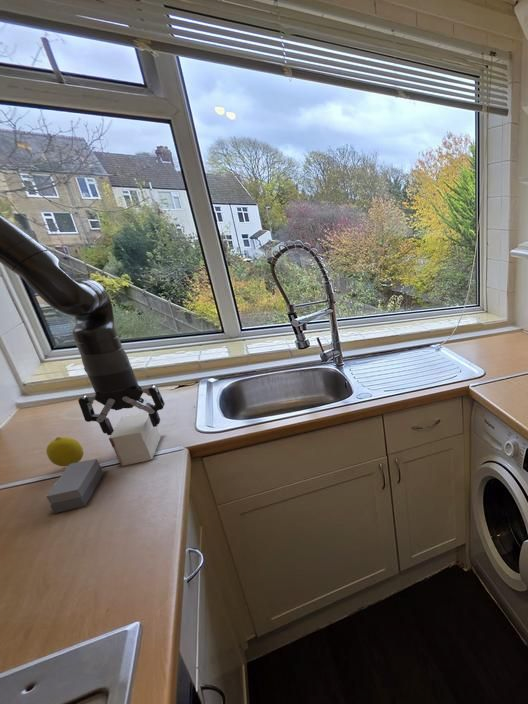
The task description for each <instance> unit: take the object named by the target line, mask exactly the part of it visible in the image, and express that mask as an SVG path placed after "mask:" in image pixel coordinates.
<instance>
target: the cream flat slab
mask: <svg viewBox="0 0 528 704" xmlns="http://www.w3.org/2000/svg"><path fill="white" fill-rule="evenodd" d="M148 414H149V413H148V412H146V411H145V412H141V413H134V414H128V415H124V416H121V418H120V420H119V421H118V423H117V424H116V426H115V427H114V428H113V430H114V431H113V432H112V434H111V435H109V437H108V440H109V442H110V444H111V447H112V448H113V449H114V447H119V446H124V445H129V444H135V443H140V442H144V440H145V438H146V436H147V434H148V432H149V430H150V427H151V425H152V423H151V420H150V417H149V415H148Z"/></svg>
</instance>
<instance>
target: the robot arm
mask: <svg viewBox="0 0 528 704" xmlns="http://www.w3.org/2000/svg"><path fill="white" fill-rule="evenodd" d="M0 264H2V265H3V266H5V267H6V268H7V269H8V270H10V271H11V272H13V273H14V274H16V275H17V276H19V277H21V278H22V279H23V281H25V283H26V284H27V285H28V287H30V288H31V289H32V291H34V292H35V293H36V294H37V295H38V296H39V297H40V298H41V299H42V301H44V302H45V303H46V304H47V305H49V306H50V307H51V308H52V309H55V310H56V311H57V312H60V313H61V314H63V315H64V314H65V315H67V316H70V317H74V319H75V326H74V327H73V329H72V330H71V333H72V338H73V340H74V343H75V346H76V347H77V350H78V353H79V355H80V358H81V363H82V366H83V369H84V371H85V372H86V375H87V377H88V379H89V382H90V384H91V386H92V389H93V391H94V393H95V394H91V395H88V394H83V395H81V396H80V397H79V399H78V400H77V402H78V404H79V407H80V410H81V413H82V415H83V419H84V421H85V422H88V423H90V422H97V423H98V424H99V427H100V429H101V431H102V433H103V434H104V435H105V434H106V435H107V436H111V434H112V432H113V431H114V428H113V424H112V422H111V421H110V418H109V417H107V416H108V415H109V413H110V412H111V410H115V411H121V410H123V409H133V407H135V408H137V409H139V410H142V411H145V413H146V412H148V413H149V414H148V415H149V417H150V420H151V423H152V425H153V427H156V426H157V427H158V425H159V424H160V422H161V418H160V414H159V412H158V411H161V410H163V409H164V406H165V405H166V404H165V401H164V399H163V396H162V394H161V392H160V390H159V387H158V385H156V384H151V385H150V386H146V387H141V386H140V385H139V383H138V380H137V378H136V375H135V372H134V370H133V367H132V364H131V362H130V359H129V357H128V354H127V353H126V351H125V349H124V347H123V345H122V342H121V340H120V337H119V335H118V332H117V330H116V327H115V316H114V315H115V314H114V309H113V303H112V299H111V297H110V294H109V293H108V291H107V289H106V288H105V287H104V286H103V285H102V284H101V283H100V282H97V281H95V280H93V279H90V278H83V277H80V278H75V279H73V278H71V276H69V275H68V274H67V273H66V272H65V271H64V270H63V269H62V268H61V265H62V263H61V260H60V259H59V258H58V257H57V256H56V255H55V254H54V253H53V252H52V251H50V250H49V249H48V248H46V247H45V246H43V245H42V244H41V243H39V242H38V241H37V240H35V239H34V238H33V237H32V236H30V235H29V234H27V232H25V231H23V230H22V229H21V228H19V227H18V226H16V225H15V224H14V223H13V222H11V221H9V219H7V218H6V217H4V216H2V215H1V214H0ZM143 394H146V395H147V396H148V397H151V399H152V401H153V403H151V402H150V401H149V400H148V399H146V398H144V397H142V396H143ZM95 401H96V402H97V403H99V404H101V405H102V406H103V407H102V409H101V411H100V413H95V410H94V407H93V404H94V403H95Z"/></svg>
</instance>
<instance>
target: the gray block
mask: <svg viewBox="0 0 528 704" xmlns="http://www.w3.org/2000/svg"><path fill="white" fill-rule="evenodd" d="M103 475H104V470H103V469H102V467H101V464H100V462H99V460H98V458H93V459H88V460H83V461H79V462H77V463H72V464H69V465H68V466H66V468H65V470H63V472H62V474H61V475H60V477H59V478H58V480H57V481H56V482H55V484H54V485H53V486H52V488H51V489H50V490H49V492H48V494H47V495H46V499H47V500H48V502H49V507H50V509H51V510H52V512H53V514H58V513H62V512H66V511H70V510H75V509H79V508H83V507H86V505H87V504H88V502H89V500H90V498H91V496H92V495H93V493H94V491H95V489H96V487H97V486H98V484H99V482H100V480H101V478H103Z"/></svg>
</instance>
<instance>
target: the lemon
mask: <svg viewBox="0 0 528 704" xmlns="http://www.w3.org/2000/svg"><path fill="white" fill-rule="evenodd" d="M46 455H47V458H48V460H49V461H50V462H51V463H52V464H54V465H56V466H59V467H68V465H69V464H72V463H77V462H81V460H82V458H83V456H84V449H83V446H82V445H81V443H80V442H79V441H78V440H76V439H74V438H73V437H68V436H57V437H56V438H55V439H53V440H51V441H50V442H49V443H48V445H47V446H46Z"/></svg>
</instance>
